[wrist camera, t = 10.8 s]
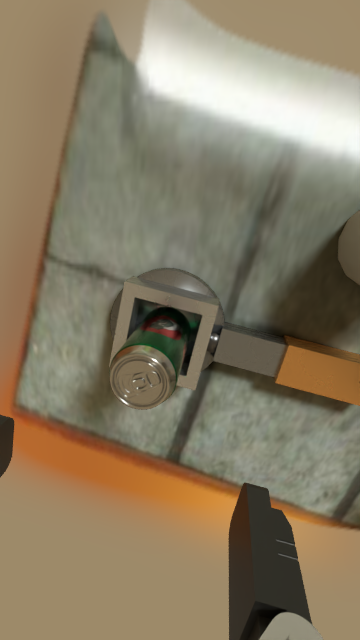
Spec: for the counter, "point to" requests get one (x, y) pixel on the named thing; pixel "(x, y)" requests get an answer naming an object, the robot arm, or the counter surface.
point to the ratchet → (232, 338)
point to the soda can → (151, 359)
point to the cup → (350, 248)
